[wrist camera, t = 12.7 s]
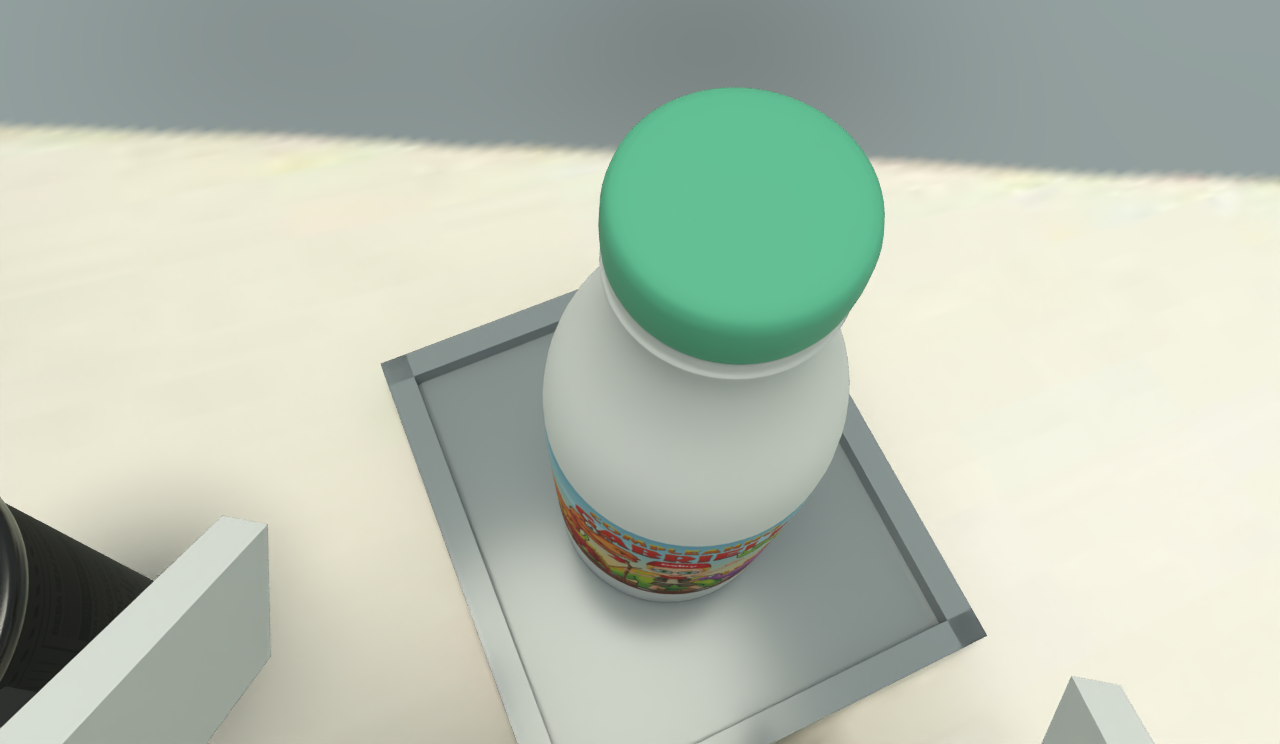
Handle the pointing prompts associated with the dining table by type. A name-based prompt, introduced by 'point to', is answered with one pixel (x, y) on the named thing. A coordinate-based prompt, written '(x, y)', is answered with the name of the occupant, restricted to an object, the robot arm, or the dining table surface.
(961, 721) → the dining table surface
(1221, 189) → the dining table surface
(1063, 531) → the dining table surface
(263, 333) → the dining table surface
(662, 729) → the tray
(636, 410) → the milk bottle
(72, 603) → the drinking cup
